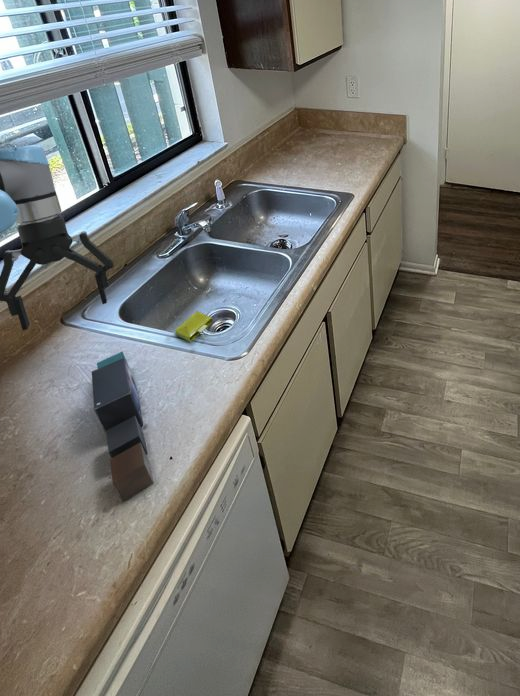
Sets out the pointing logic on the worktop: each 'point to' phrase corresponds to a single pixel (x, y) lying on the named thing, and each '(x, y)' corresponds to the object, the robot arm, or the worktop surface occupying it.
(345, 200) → the worktop surface
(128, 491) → the walnut block
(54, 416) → the worktop surface
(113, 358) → the teal block
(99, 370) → the small box
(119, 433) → the charcoal block
